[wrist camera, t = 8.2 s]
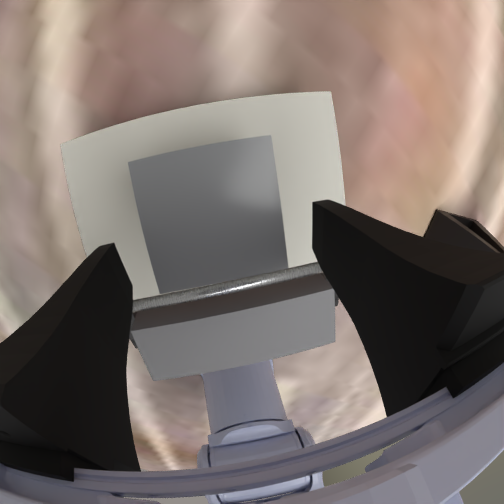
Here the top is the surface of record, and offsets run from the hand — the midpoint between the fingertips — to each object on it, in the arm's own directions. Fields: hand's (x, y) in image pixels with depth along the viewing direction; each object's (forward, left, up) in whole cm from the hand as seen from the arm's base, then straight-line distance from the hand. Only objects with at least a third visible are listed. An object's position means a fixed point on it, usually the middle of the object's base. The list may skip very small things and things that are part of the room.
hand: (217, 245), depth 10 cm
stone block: (0, 0, -4) cm, 4 cm away
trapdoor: (-4, 0, -7) cm, 8 cm away
